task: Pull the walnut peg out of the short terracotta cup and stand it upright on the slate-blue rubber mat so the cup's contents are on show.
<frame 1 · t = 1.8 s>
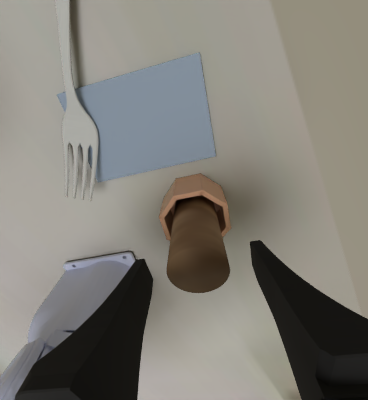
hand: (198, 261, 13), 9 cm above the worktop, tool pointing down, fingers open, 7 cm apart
peg: (194, 204, 20), resting on cup
cup: (194, 201, 21), on the worktop, touching peg
mat: (142, 126, 17), on the worktop
fork: (73, 46, 14), on the worktop, touching mat
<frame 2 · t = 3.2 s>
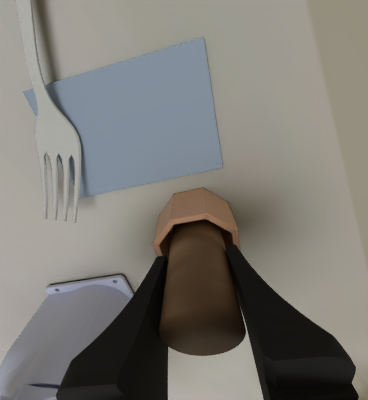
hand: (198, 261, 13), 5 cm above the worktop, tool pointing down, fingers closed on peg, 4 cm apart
peg: (196, 223, 17), resting on cup, touching gripper
cup: (195, 220, 17), on the worktop, touching peg
mat: (131, 131, 14), on the worktop
fork: (41, 30, 11), on the worktop, touching mat
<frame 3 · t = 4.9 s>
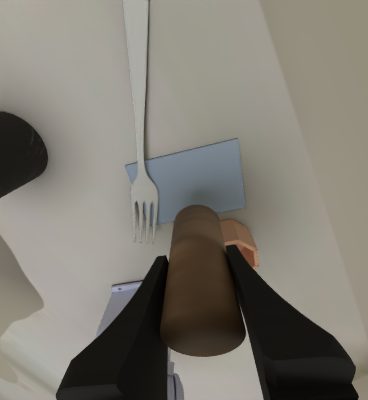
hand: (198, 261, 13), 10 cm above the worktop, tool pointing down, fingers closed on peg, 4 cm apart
peg: (196, 224, 17), point 6 cm above the worktop, touching gripper
cup: (224, 239, 25), on the worktop
mat: (188, 186, 22), on the worktop
fork: (142, 135, 19), on the worktop, touching mat
travel mug: (14, 147, 20), on the worktop
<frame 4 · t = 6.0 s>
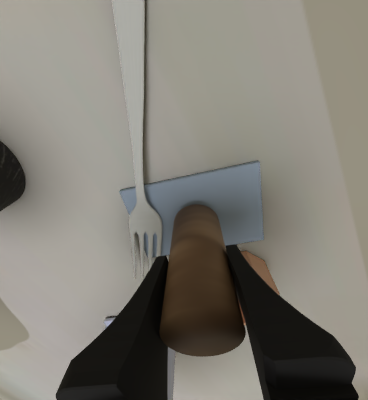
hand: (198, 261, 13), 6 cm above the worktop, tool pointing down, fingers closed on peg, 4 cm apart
peg: (196, 224, 17), point 1 cm above the worktop, touching gripper
cup: (236, 272, 21), on the worktop
mat: (195, 214, 18), on the worktop
fork: (141, 156, 15), on the worktop, touching mat
when the fingers open (6 cm above the worktop, at t = 6.7 s): peg stays where it is, resting on mat.
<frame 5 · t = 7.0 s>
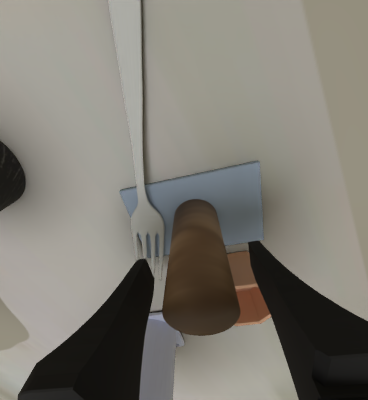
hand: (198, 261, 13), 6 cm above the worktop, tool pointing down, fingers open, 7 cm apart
peg: (195, 218, 18), resting on mat
cup: (236, 272, 21), on the worktop
mat: (195, 214, 18), on the worktop
fork: (141, 156, 15), on the worktop, touching mat
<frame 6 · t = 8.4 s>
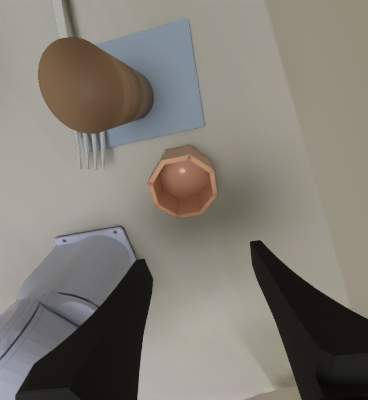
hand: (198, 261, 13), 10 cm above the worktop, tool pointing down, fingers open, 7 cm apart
peg: (131, 96, 17), resting on mat
cup: (183, 174, 21), on the worktop
mat: (132, 94, 17), on the worktop
fork: (67, 12, 15), on the worktop, touching mat
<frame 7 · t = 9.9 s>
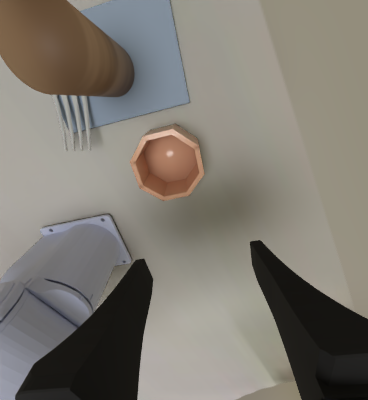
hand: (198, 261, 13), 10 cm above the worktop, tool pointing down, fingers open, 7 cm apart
peg: (111, 70, 16), resting on mat
cup: (170, 156, 20), on the worktop
mat: (112, 69, 17), on the worktop
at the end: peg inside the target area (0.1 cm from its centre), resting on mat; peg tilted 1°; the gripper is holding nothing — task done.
